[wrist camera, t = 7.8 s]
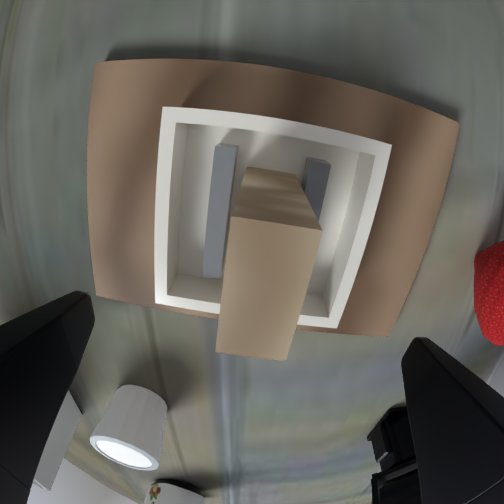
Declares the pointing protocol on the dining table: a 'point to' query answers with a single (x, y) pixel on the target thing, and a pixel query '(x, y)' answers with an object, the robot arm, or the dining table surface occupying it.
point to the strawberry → (490, 292)
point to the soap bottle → (57, 443)
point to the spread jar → (173, 493)
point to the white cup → (132, 428)
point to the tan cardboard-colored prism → (266, 265)
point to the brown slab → (270, 105)
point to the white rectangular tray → (226, 191)
